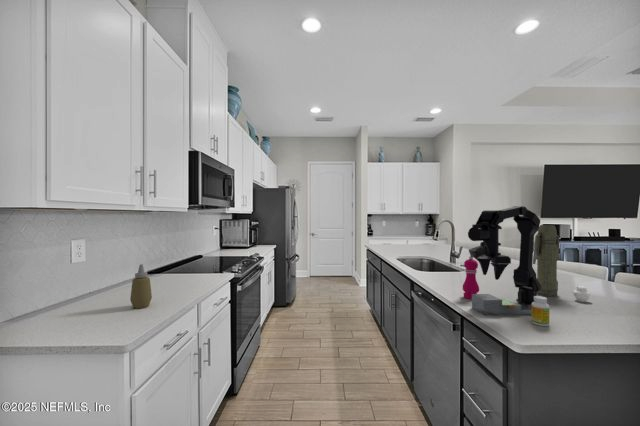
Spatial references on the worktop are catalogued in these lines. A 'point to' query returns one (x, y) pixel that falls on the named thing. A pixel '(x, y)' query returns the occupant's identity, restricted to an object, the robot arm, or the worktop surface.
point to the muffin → (581, 294)
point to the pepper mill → (470, 278)
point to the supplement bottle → (540, 311)
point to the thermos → (547, 259)
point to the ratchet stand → (498, 306)
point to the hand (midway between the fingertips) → (490, 277)
